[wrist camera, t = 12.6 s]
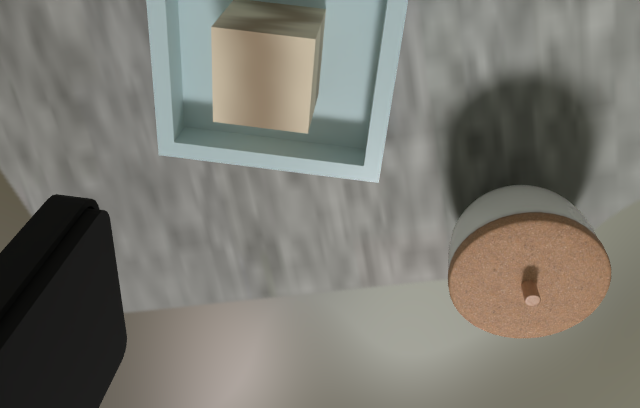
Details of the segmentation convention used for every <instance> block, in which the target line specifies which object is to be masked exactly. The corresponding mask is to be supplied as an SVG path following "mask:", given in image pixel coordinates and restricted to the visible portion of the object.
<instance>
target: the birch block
mask: <svg viewBox="0 0 640 408" xmlns="http://www.w3.org/2000/svg"><path fill="white" fill-rule="evenodd" d="M325 15H326V9H321V8H313V7H304V6H296V5H287V4H278V3H270V2H261V1H253V0H233V1H232V2H231V4H230V5H229V6H228V7H227V8H226V10H225V11H224V12H223V13H222V14H221V16H220V17H219V18H218V19H217V20H216V22H215V23H214V24H213V25H212V26H211V46H212V98H213V122H218V123H226V124H234V125H242V126H250V127H258V128H266V129H274V130H282V131H290V132H298V133H306V134H308V132H309V128H310V124H311V121H312V117H313V113H314V109H315V106H316V102H317V98H318V94H319V83H320V71H321V60H322V49H323V37H324V26H325Z"/></svg>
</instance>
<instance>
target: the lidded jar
mask: <svg viewBox="0 0 640 408" xmlns="http://www.w3.org/2000/svg"><path fill="white" fill-rule="evenodd" d="M610 281H611V265H610V261H609V258H608V255H607V253H606V251H605V249H604V247H603V245H602V243H601V242H600V241H599V239H598V238H597V236H596V234H595V232H594V230H593V228H592V227H591V225H590V224H589V223H588V221H587V220H586V219H585V217H584V216H583V215H582V213H581V212H580V211H579V210H578V209H577V208H576V207H575V206H574V205H573V204H572V203H570V202H569V201H568V200H567V199H565V198H564V197H562V196H560V195H559V194H557V193H555V192H553V191H550V190H548V189H545V188H541V187H537V186H530V185H511V186H505V187H501V188H497V189H495V190H492V191H490V192H487V193H486V194H484V195H482V196H481V197H479V198H478V199H476V200H475V201H474V202H473V203H471V204H470V205H469V206H468V207H467V208H466V209H465V211H464V212H463V213H462V215H461V216H460V218H459V219H458V221H457V223H456V225H455V227H454V229H453V232H452V236H451V240H450V244H449V252H448V286H449V292H450V296H451V299H452V301H453V304H454V306H455V307H456V309H457V310H458V312H459V313H460V314H461V315H462V316H463V317H464V318H465V319H466V320H468V321H469V322H470V323H472V324H473V325H474V326H476V327H478V328H480V329H482V330H484V331H487V332H489V333H492V334H495V335H499V336H504V337H510V338H535V337H542V336H547V335H551V334H555V333H558V332H561V331H563V330H566V329H568V328H570V327H572V326H574V325H576V324H578V323H579V322H581V321H583V320H584V319H585V318H586V317H588V316H589V315H590V314H591V313H592V312H593V311H594V310H595V309H596V308H597V307H598V306H599V304H600V303H601V301H602V300H603V298H604V297H605V295H606V293H607V291H608V288H609V285H610Z"/></svg>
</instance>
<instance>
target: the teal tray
mask: <svg viewBox="0 0 640 408" xmlns="http://www.w3.org/2000/svg"><path fill="white" fill-rule="evenodd" d="M146 1H147V14H148V26H149V39H150V51H151V64H152V76H153V89H154V101H155V114H156V126H157V138H158V151H159V155H163V156H171V157H179V158H186V159H194V160H202V161H210V162H218V163H226V164H234V165H242V166H250V167H258V168H266V169H273V170H281V171H289V172H297V173H305V174H313V175H321V176H329V177H337V178H345V179H353V180H360V181H368V182H376V183H379V177H380V171H381V165H382V158H383V152H384V146H385V140H386V134H387V128H388V121H389V115H390V109H391V103H392V97H393V91H394V85H395V78H396V72H397V66H398V60H399V54H400V48H401V42H402V35H403V29H404V23H405V17H406V11H407V5H408V0H253V1H261V2H270V3H278V4H287V5H296V6H304V7H313V8H321V9H326V15H325V26H324V37H323V49H322V60H321V71H320V83H319V94H318V98H317V102H316V106H315V109H314V113H313V117H312V121H311V124H310V128H309V132H308V134H306V133H298V132H290V131H282V130H274V129H266V128H258V127H250V126H242V125H234V124H226V123H218V122H213V98H212V46H211V26H212V25H213V24H214V23H215V22H216V20H217V19H218V18H219V17H220V16H221V14H222V13H223V12H224V11H225V10H226V8H227V7H228V6H229V5H230V4H231V2H232V1H233V0H146Z"/></svg>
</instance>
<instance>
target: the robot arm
mask: <svg viewBox="0 0 640 408" xmlns="http://www.w3.org/2000/svg"><path fill="white" fill-rule="evenodd" d="M126 342H127V335H126V327H125V320H124V313H123V306H122V299H121V292H120V285H119V278H118V271H117V264H116V257H115V250H114V243H113V236H112V230H111V223H110V217H109V214H108V212H107V211H105V210H99V207H98V204H97V202H96V201H95V200H93V199H88V198H81V197H73V196H65V195H58V194H56V195H52V196H51V197H50V198H49V199H47V201H46V202H45V203H44V204H43V205H42V206H41V207H40V209H39V210H38V211H37V212H36V213H35V214H34V215H33V216H32V218H31V219H30V220H29V221H28V222H27V223H26V225H25V226H24V227H23V228H22V229H21V230H20V231H19V233H17V235H16V236H15V237H14V238H13V239H12V240H11V242H10V243H9V244H8V245H7V246H6V247H5V248H4V249H3V250H2V252H1V253H0V408H99V406H100V404H101V402H102V400H103V398H104V396H105V394H106V392H107V390H108V388H109V385H110V384H111V382H112V380H113V377H114V376H115V373H116V371H117V369H118V367H119V365H120V363H121V361H122V359H123V357H124V353H125V349H126Z"/></svg>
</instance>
